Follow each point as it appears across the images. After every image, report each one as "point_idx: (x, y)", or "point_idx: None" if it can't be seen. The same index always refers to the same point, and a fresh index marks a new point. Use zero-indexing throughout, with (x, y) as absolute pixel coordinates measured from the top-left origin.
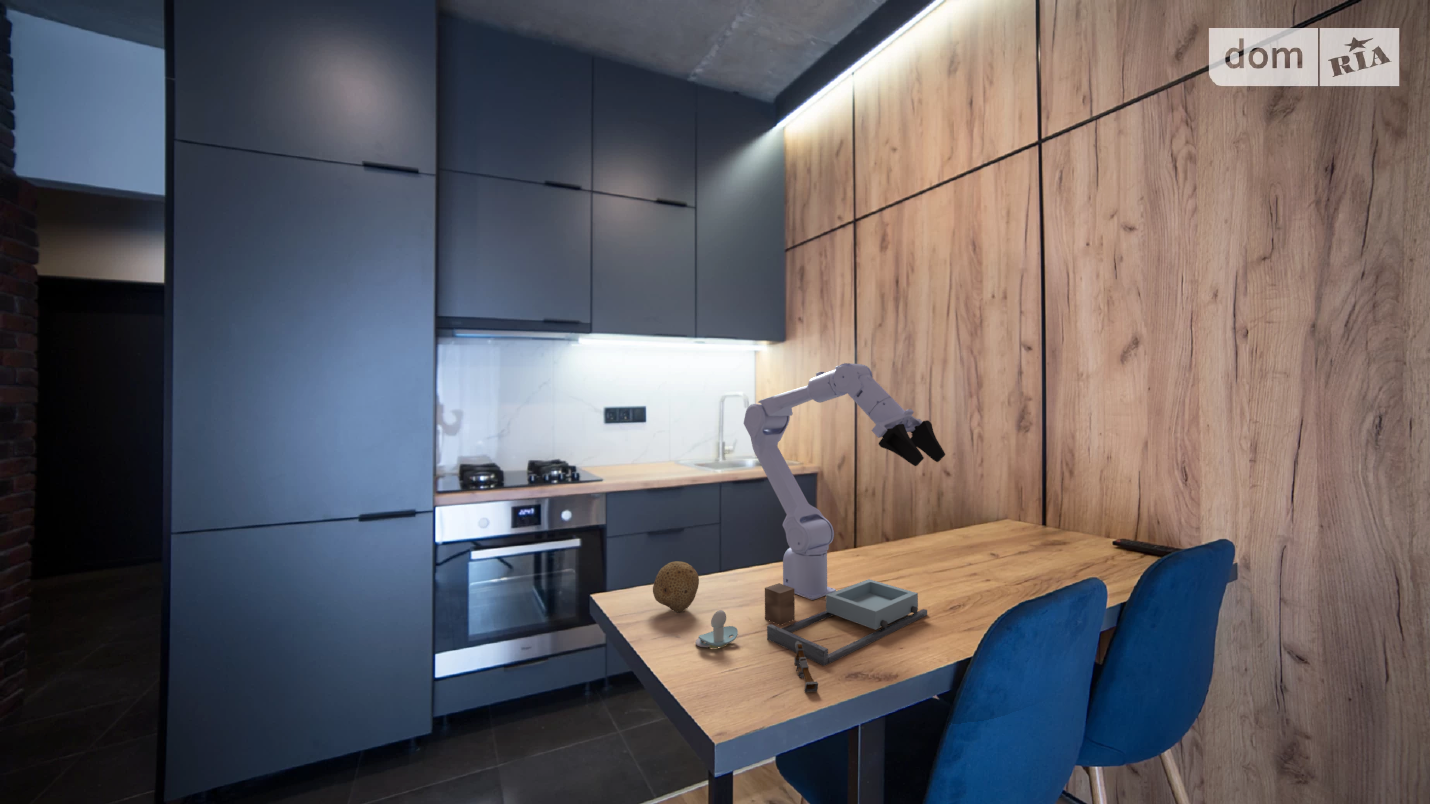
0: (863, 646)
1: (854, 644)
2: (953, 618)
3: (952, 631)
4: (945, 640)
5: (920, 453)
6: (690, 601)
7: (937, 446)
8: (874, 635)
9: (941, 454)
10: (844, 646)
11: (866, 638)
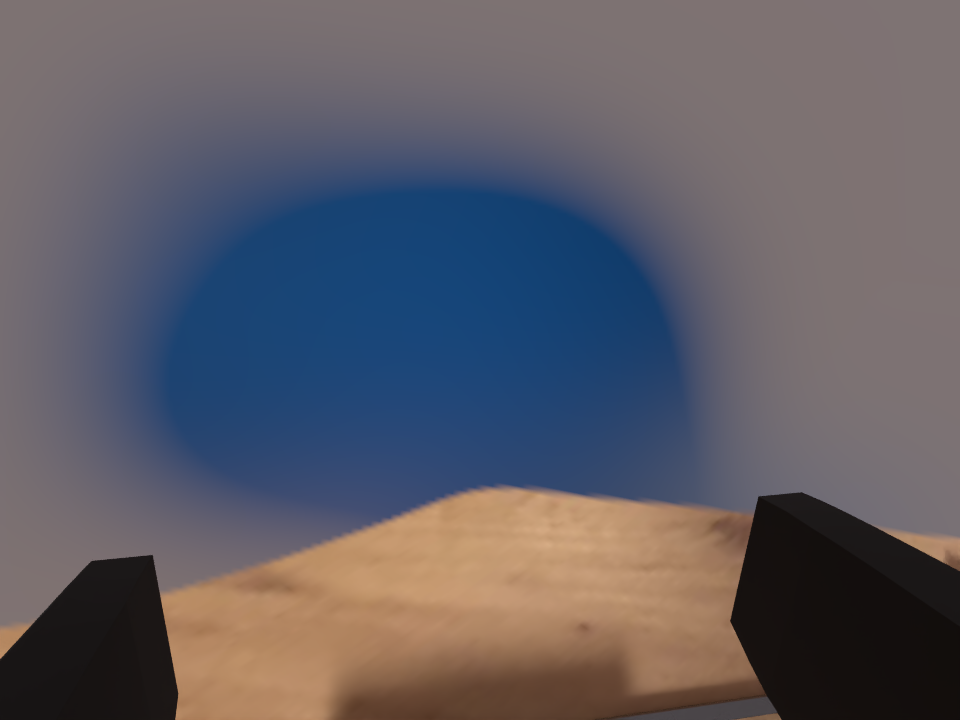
0: (680, 707)
1: (731, 704)
2: (213, 681)
3: (334, 608)
4: (420, 578)
5: (830, 522)
6: None
7: (87, 691)
8: (628, 716)
9: (153, 598)
10: (768, 713)
11: (668, 714)
